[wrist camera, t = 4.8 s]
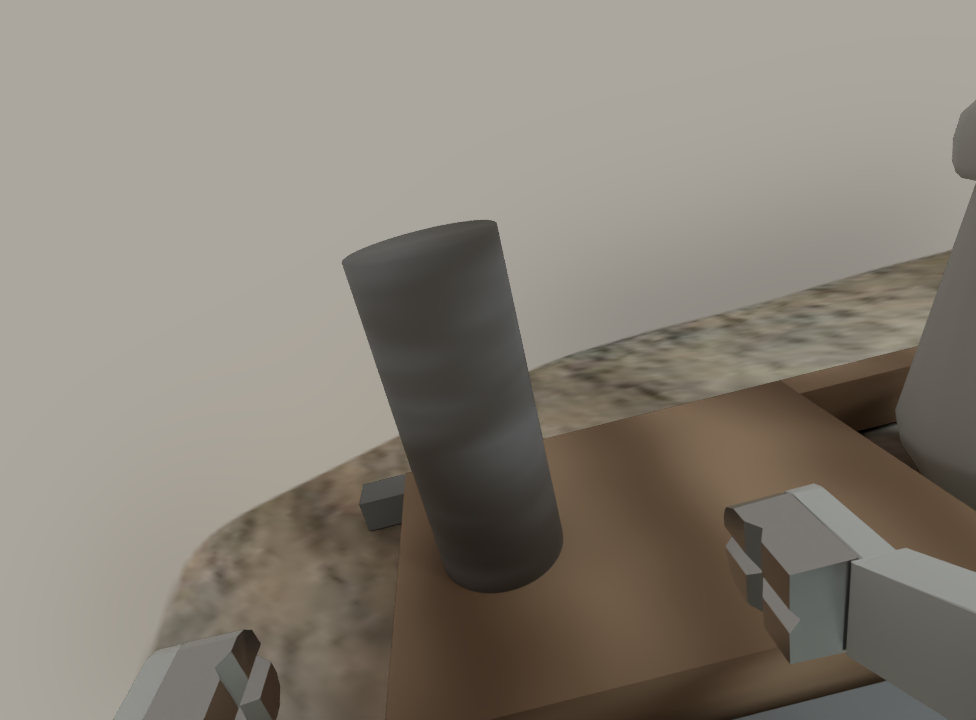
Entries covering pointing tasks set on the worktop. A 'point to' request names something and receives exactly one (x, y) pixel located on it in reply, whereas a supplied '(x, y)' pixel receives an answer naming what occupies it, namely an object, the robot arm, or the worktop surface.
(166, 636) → the worktop surface
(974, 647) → the robot arm
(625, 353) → the worktop surface
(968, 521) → the wooden tray on runners
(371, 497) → the rails
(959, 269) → the salt shaker
